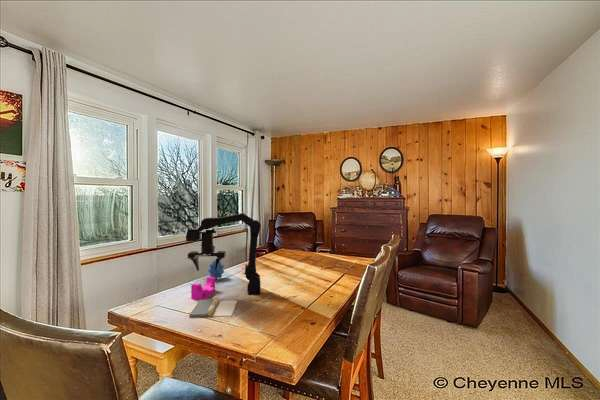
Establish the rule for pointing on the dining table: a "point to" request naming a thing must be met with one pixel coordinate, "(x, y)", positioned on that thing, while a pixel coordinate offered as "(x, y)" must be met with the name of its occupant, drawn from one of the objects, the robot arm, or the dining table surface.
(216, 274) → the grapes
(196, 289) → the toy block
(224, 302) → the leaf pad
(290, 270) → the dining table surface
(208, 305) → the hinge leaf
